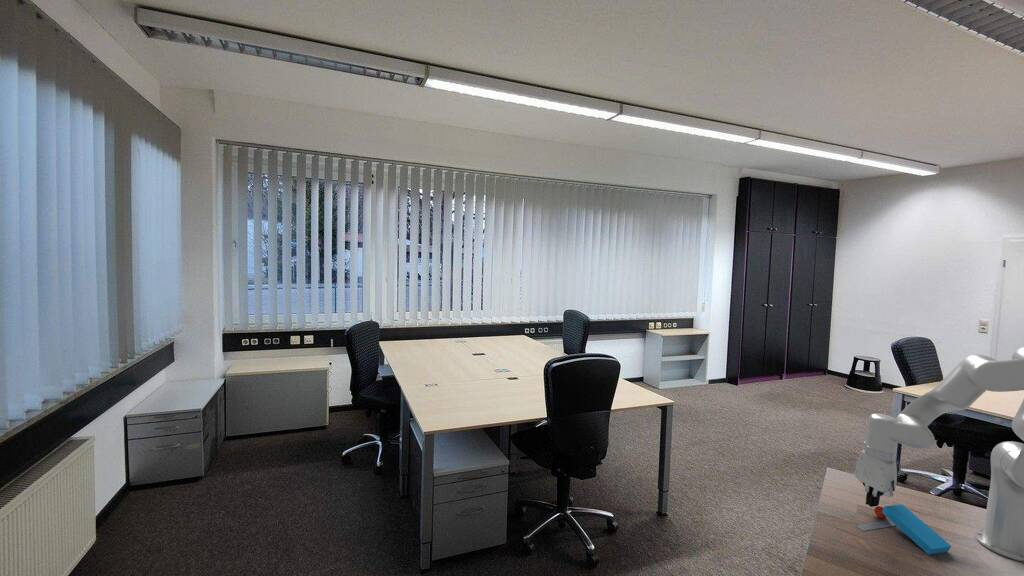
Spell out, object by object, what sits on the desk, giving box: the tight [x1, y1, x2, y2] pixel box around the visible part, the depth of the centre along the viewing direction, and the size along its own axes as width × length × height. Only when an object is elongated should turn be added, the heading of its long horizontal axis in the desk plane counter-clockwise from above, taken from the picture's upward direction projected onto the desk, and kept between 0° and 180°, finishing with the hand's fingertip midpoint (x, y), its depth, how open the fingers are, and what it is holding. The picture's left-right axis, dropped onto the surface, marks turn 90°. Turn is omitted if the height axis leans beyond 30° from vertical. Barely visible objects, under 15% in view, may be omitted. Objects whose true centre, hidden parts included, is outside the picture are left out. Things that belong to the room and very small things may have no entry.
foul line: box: [855, 519, 897, 532], centre depth 137 cm, size 23×2×1 cm, turn 102°
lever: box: [873, 504, 952, 555], centre depth 133 cm, size 7×7×18 cm
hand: (871, 504), depth 142 cm, fingers closed
